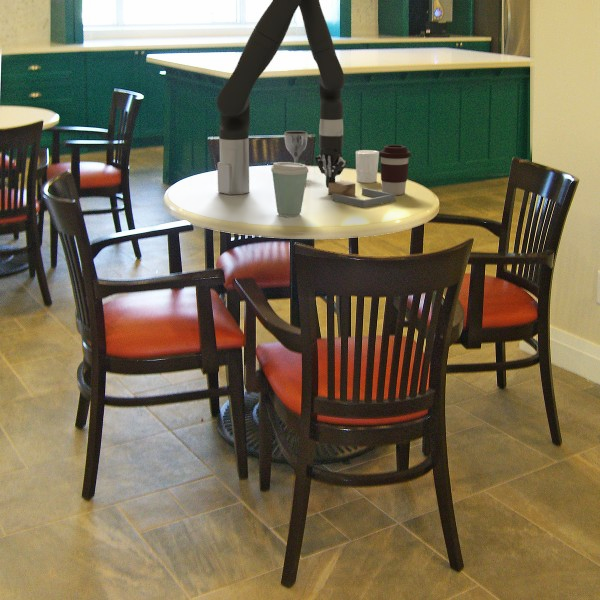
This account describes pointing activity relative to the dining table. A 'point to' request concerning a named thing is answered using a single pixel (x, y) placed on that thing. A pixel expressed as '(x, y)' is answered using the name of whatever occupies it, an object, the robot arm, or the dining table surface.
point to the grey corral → (380, 198)
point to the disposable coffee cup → (289, 187)
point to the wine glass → (295, 143)
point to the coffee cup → (394, 168)
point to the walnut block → (341, 188)
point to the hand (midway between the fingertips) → (330, 187)
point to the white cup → (367, 165)
